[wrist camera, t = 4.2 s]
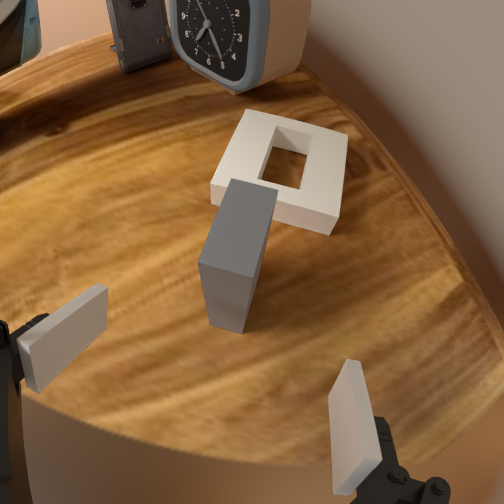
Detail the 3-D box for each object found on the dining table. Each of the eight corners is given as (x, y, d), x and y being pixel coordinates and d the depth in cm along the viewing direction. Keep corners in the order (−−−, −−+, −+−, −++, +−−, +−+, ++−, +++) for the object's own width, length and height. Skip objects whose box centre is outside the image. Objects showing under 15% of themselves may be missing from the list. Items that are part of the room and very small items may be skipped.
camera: (151, 49, 57) (136, -29, 42) (177, 58, 48) (160, -41, 32) (104, 66, 54) (85, -14, 39) (118, 79, 44) (94, -24, 29)
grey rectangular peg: (209, 324, 28) (197, 262, 17) (228, 266, 31) (231, 177, 20) (242, 334, 28) (252, 277, 17) (259, 275, 31) (278, 190, 19)
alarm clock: (171, 62, 48) (165, -46, 29) (214, 47, 52) (217, -53, 33) (250, 112, 42) (264, -33, 23) (294, 91, 46) (319, -33, 26)
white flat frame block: (211, 203, 34) (210, 183, 31) (244, 129, 40) (246, 108, 37) (329, 235, 33) (338, 217, 30) (340, 154, 39) (348, 135, 36)
